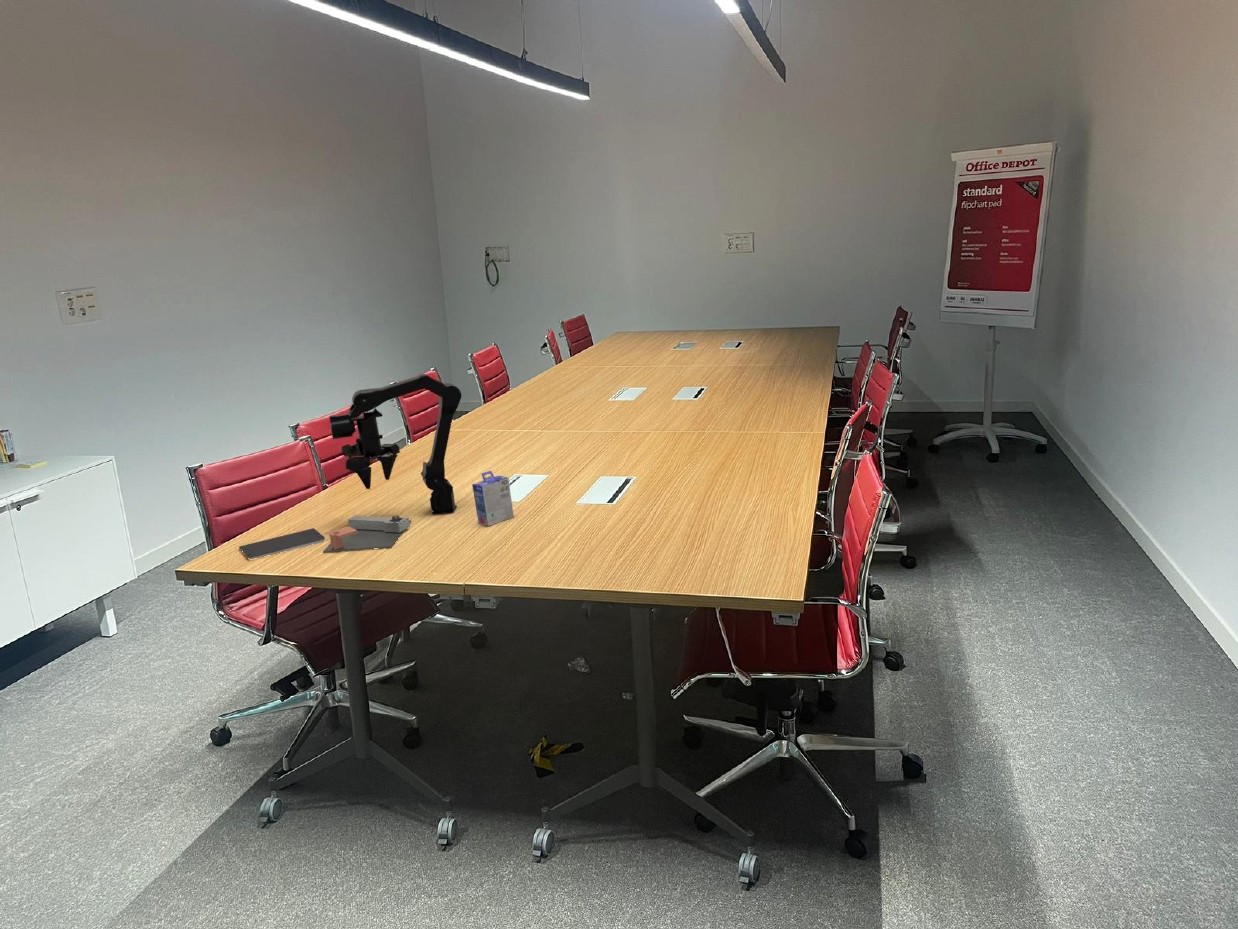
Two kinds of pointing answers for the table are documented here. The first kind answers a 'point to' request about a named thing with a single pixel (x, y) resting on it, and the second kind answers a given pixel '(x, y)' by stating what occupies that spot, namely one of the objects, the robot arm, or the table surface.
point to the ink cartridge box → (492, 499)
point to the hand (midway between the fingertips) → (378, 484)
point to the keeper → (340, 536)
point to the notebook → (282, 543)
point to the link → (379, 523)
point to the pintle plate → (368, 539)
